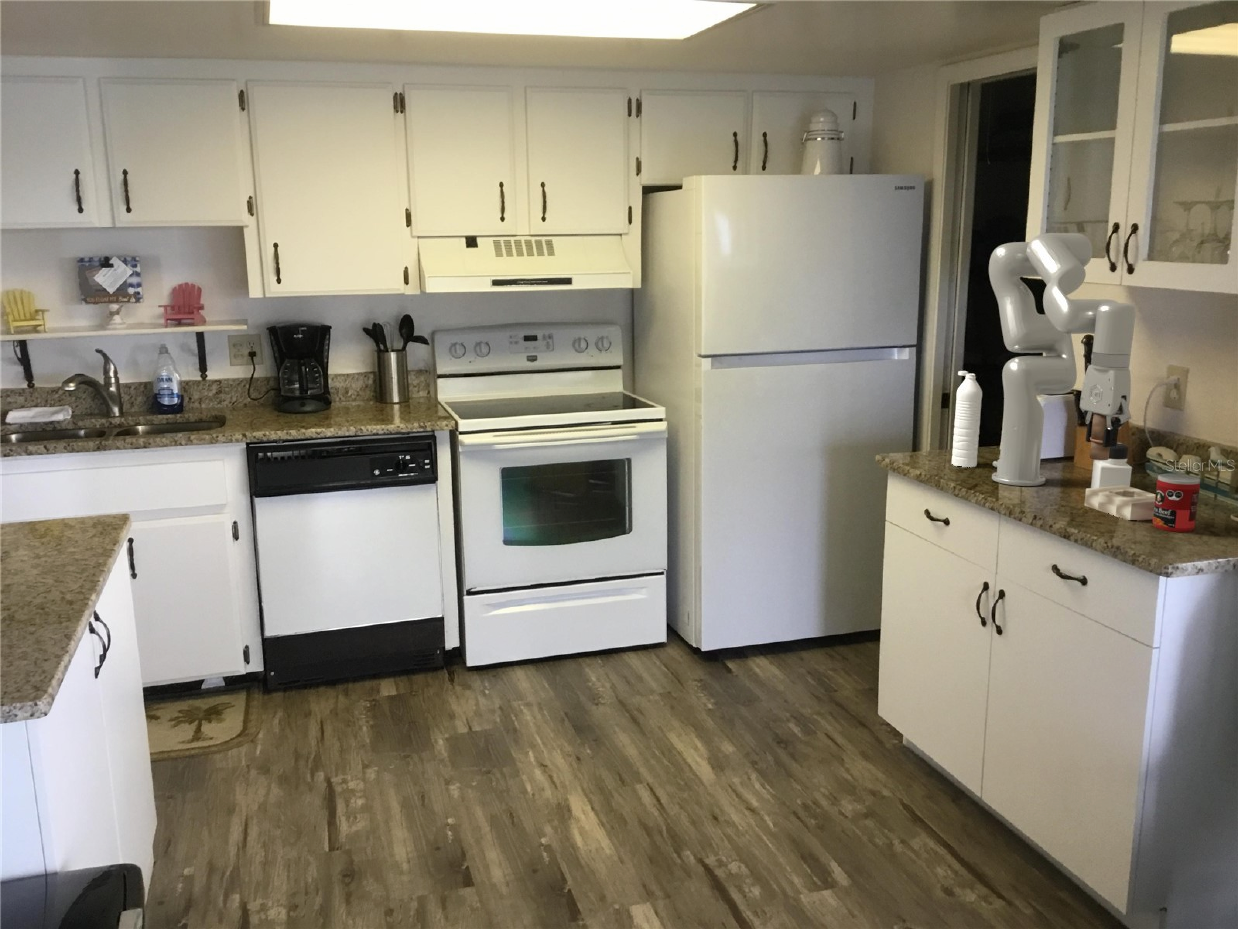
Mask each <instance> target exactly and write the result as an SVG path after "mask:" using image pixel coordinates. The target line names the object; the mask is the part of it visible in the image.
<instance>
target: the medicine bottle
mask: <svg viewBox="0 0 1238 929" xmlns="http://www.w3.org/2000/svg"><path fill="white" fill-rule="evenodd" d="M1128 455H1129V447H1128V445H1127V444H1125V443H1121V442H1117V445H1116V446H1115V447H1110V452H1109V459H1108V460H1094V459H1093V463H1092V464H1093V465H1092V475H1091V483H1090V488H1100V487H1112V486H1125V485H1126V486H1129V487H1131V483H1132V482H1131V481H1132V474H1133V467H1132V466H1131V465H1130V464H1128V463H1127V462H1128Z"/></svg>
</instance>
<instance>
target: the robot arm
mask: <svg viewBox="0 0 1238 929" xmlns="http://www.w3.org/2000/svg"><path fill="white" fill-rule="evenodd" d="M1092 258H1093V245H1092V243H1091V241H1090V239H1089V238H1088V237H1087V236H1086V235H1084V234H1082V233H1077V232H1047V233H1042V234H1039V235H1036V236H1034V237H1033V238H1032V239H1031V240H1030V241H1020V242H1019V241H1018V242H1016V241H1013V242H1007V243H1004V244H1000V245H998V246H997V247H996V248H995V249H994V250H993V251H992V253H991V254H990V258H989V261H988V262H989V264H988V275H989V281H990V285H991V287H992V290H993V292H994V295H995V298H996V301H997V304H998V310H999V318H1000V326H1001V332H1002V336H1003V337H1002V338H1003V343H1004V345H1005V347H1006V349H1007V350H1008V351H1010V352H1012V353H1019V354H1025V353H1027V354H1028V353H1030V354H1034V353H1035V354H1038V353H1042V354H1044V355H1025V356H1023V355H1022V356H1015V357H1013V358H1011V359H1010V360H1008V361H1006V362H1005V364H1004V366H1003V369H1002V374H1001V376H1002V387H1003V398H1004V399H1003V416H1002V417H1003V418H1002V427H1001V428H1002V430H1001V442H1000V453H999V459H997V460H994V461H993V462H992V466H994V467H995V468H997V469H996V471H995V472H993V473H992V474H991V479H992V480H993V482H994V481H995V482H996V483H1001V484H1004V485H1009V486H1019V487H1020V486H1021V487H1036V486H1041V485H1044V484H1045V483H1046V478H1045V477H1044V476H1043V475H1040V466H1041V454H1042V444H1043V436H1044V435H1043V434H1044V433H1043V432H1044V422H1045V411H1044V408H1043V406H1042V404H1041V403H1040V401H1039V399H1038V397H1037V396H1039V395H1062V394H1067V393H1069V392H1071V391H1072V390H1073V389H1074V387H1075V385H1076V384H1077V379H1078V377H1077V376H1078V375H1077V374H1078V370H1077V363H1076V362H1077V361H1076V358H1075V351H1074V349H1075V348H1074V344H1073V337H1072V335H1074V334H1076V335H1078V334H1079V335H1080V334H1081V335H1083V334H1086V335H1087V334H1092V335H1093V344H1092V351H1091V354H1090V358H1091V360H1090V361H1091V362H1090V364H1088V366H1087V369H1086V372H1085V375H1084V379H1083V383H1082V384H1083V385H1082V388H1081V393H1080V394H1081V395H1080V401H1079V408H1080V410H1081V411H1082V413H1083V416H1084V418H1085V424H1087V426H1086V434H1085V442H1087V443H1091V440H1090V437H1091V433H1092V424H1093V415H1094V413H1097V414H1101V415H1105V416H1106V419H1107V429H1105V430H1104V437H1103V447H1115V446H1116V445H1117V443H1118V438H1119V436H1118V435H1119V430H1120V429H1122V426H1123V425H1124V424H1125V423H1127V421H1129V420H1131V419H1132V414H1131V411H1130V402H1131V392H1132V390H1131V389H1132V380H1131V370H1130V363H1131V356H1132V354H1131V353H1132V348H1133V347H1132V346H1133V339H1134V332H1135V323H1136V316H1137V315H1136V313H1137V310H1136V307H1135V306H1134V305H1133V304H1131V303H1124V302H1118V301H1116V300H1114V299H1105V298H1100V299H1095V298H1094V299H1093V298H1092V299H1091V298H1090V299H1089V298H1087V299H1086V298H1081V299H1080V298H1076V299H1071V298H1069V297H1068V295H1071V294H1072V293H1074V292H1076V291H1077V290H1078V289H1079V288H1080V287H1081V286H1082V285H1083V283H1084V282H1085V279H1086V276H1087V275H1086V274H1087V272H1086V269H1085V267H1086V266H1087V265H1088V264H1089V263H1090V261H1091V260H1092ZM1026 277H1027V278H1038V277H1039V278H1041V279H1042V280H1043V282H1044V283H1045V284H1046V287H1045V289H1044V292H1043V295H1042V296H1043V298H1042V302H1043V303H1042V305H1043V309H1044V314H1040V313H1038V311H1037V308H1036V300H1035V297H1034V295H1033V292H1032V290H1030V288H1029V287H1028V285H1026V283H1024V282H1023V280H1021V278H1026ZM1112 417H1115V418H1114V421H1113V418H1112Z"/></svg>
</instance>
